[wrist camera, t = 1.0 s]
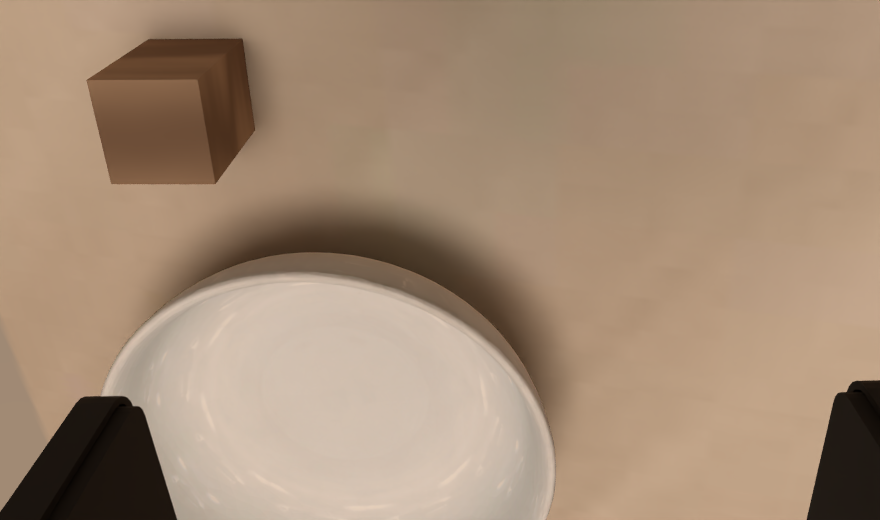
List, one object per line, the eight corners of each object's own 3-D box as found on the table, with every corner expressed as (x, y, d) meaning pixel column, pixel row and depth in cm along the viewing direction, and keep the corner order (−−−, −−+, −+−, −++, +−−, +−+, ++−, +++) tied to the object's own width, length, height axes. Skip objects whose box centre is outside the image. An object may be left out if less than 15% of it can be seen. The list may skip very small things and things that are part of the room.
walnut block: (148, 39, 33) (86, 80, 28) (242, 38, 33) (197, 79, 28) (166, 130, 35) (111, 183, 30) (254, 129, 35) (215, 184, 30)
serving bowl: (435, 131, 35) (425, 196, 29) (603, 459, 44) (623, 561, 37) (66, 298, 40) (-8, 383, 34) (283, 561, 49) (255, 665, 43)
